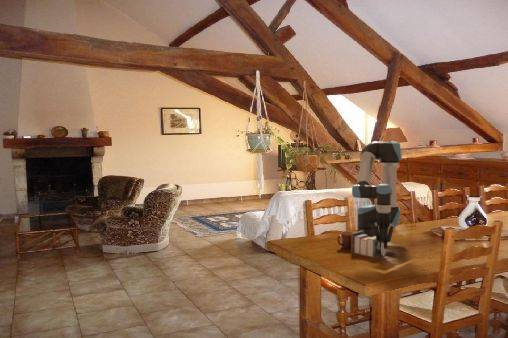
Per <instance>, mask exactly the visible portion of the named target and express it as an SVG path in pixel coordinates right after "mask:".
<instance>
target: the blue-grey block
mask: <svg viewBox="0 0 508 338" xmlns="http://www.w3.org/2000/svg"><path fill="white" fill-rule="evenodd" d="M365 237H368V235H366V234H360V235H356V236H354V253H356V254H355V255H357V254H360V239H362V238H365Z"/></svg>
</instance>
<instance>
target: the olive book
mask: <svg viewBox="0 0 508 338" xmlns="http://www.w3.org/2000/svg"><path fill="white" fill-rule="evenodd" d="M375 242H378V241H377V239H376V236H374V237H370V238H367V256H369V257H368V258H371V257H373V243H375Z"/></svg>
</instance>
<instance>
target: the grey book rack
mask: <svg viewBox="0 0 508 338" xmlns="http://www.w3.org/2000/svg"><path fill="white" fill-rule="evenodd" d="M353 232H354V231H353ZM360 234H364V231H358V232H357V231H355V232H354V233H351V249H350V254H354V255H359V256H362V257H367V258H372V259H376V260H381V261H383V262H384V261H385V262H393V261H395V260H398V259H401V253H400V252H395V251H391V250H386V256H384V257H381V258H375V257H369V256H365V255H360V254H356V253H354V236H356V235H360Z"/></svg>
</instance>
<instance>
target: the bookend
mask: <svg viewBox="0 0 508 338" xmlns="http://www.w3.org/2000/svg"><path fill="white" fill-rule="evenodd" d="M384 256H386V254H384V255H382V254H381V248H380V242H379V241H378V242H375V243H373V257H375V258H381V257H384ZM375 258H374V259H375Z"/></svg>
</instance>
